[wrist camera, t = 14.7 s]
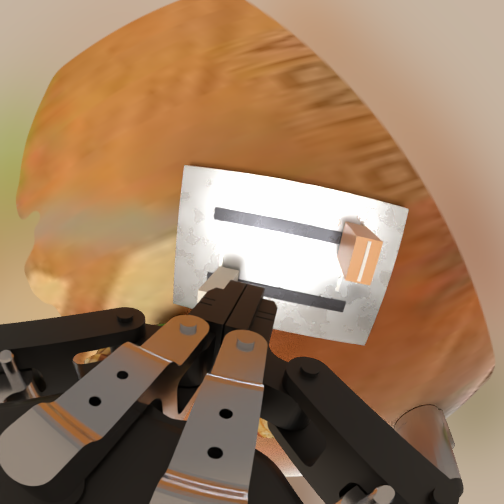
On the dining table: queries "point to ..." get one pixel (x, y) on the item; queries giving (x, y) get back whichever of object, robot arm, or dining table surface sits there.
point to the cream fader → (218, 280)
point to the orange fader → (358, 253)
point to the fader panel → (284, 247)
